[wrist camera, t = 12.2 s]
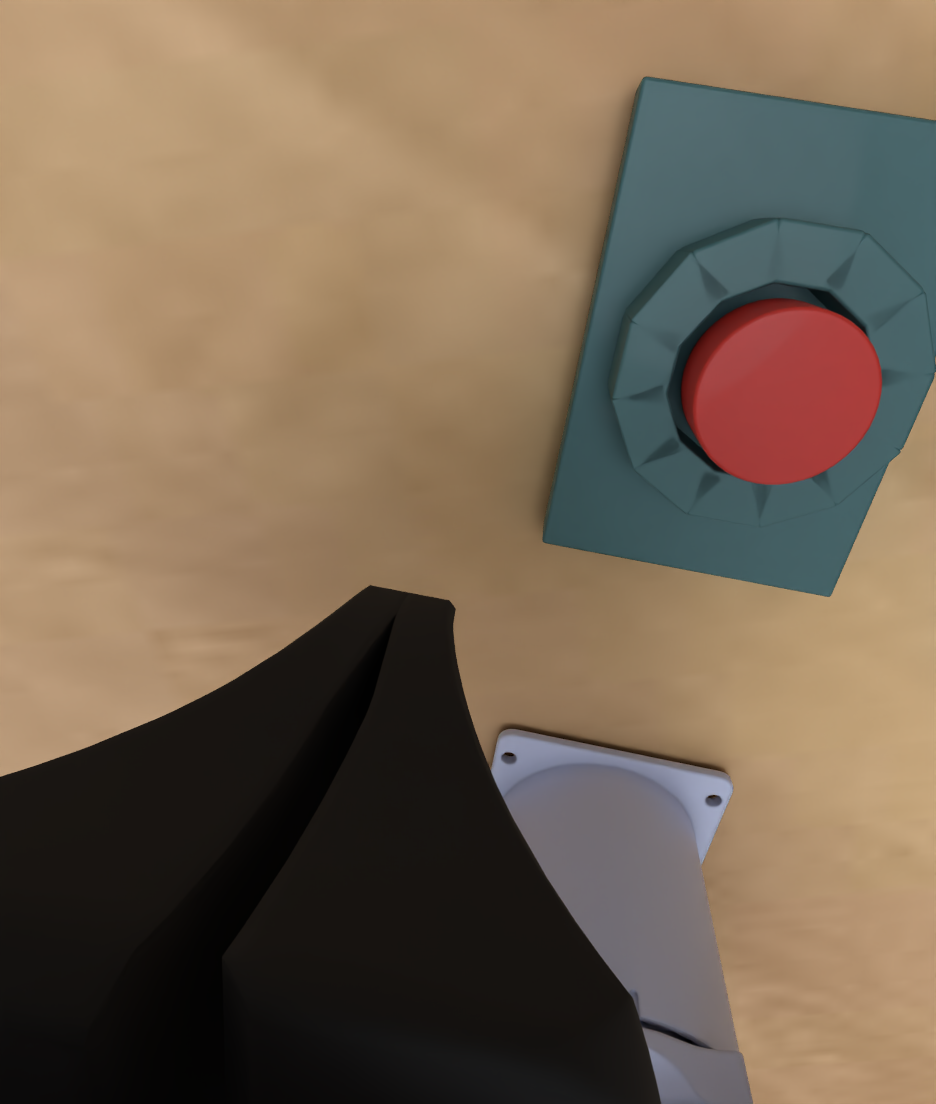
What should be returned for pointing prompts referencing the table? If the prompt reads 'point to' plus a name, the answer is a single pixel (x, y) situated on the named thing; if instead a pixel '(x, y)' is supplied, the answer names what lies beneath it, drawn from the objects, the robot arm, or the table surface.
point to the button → (780, 390)
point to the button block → (726, 284)
